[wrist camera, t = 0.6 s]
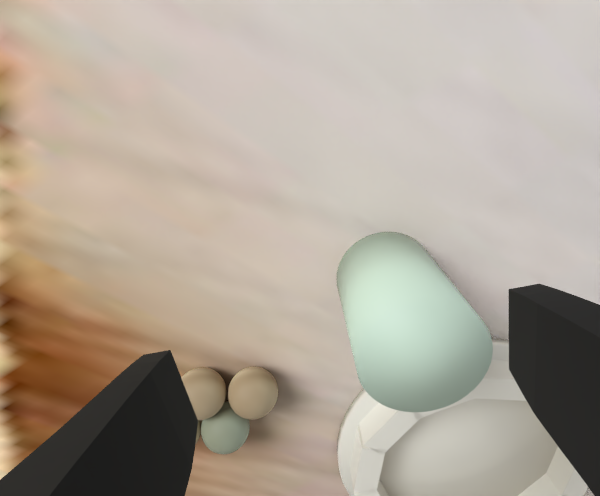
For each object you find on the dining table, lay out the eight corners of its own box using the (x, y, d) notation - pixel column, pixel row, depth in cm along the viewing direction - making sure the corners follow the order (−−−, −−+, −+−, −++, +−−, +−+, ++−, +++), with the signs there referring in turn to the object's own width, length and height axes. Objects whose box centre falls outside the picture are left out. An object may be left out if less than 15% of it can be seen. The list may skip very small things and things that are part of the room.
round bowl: (629, 346, 20) (662, 372, 18) (543, 528, 26) (562, 563, 24) (354, 331, 20) (361, 357, 18) (324, 521, 25) (327, 557, 23)
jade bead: (441, 235, 18) (509, 305, 12) (421, 320, 19) (474, 415, 14) (342, 228, 18) (366, 296, 12) (331, 315, 19) (348, 409, 14)
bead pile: (280, 357, 20) (279, 391, 18) (274, 431, 22) (273, 470, 20) (156, 351, 20) (139, 385, 18) (161, 426, 22) (146, 465, 19)
